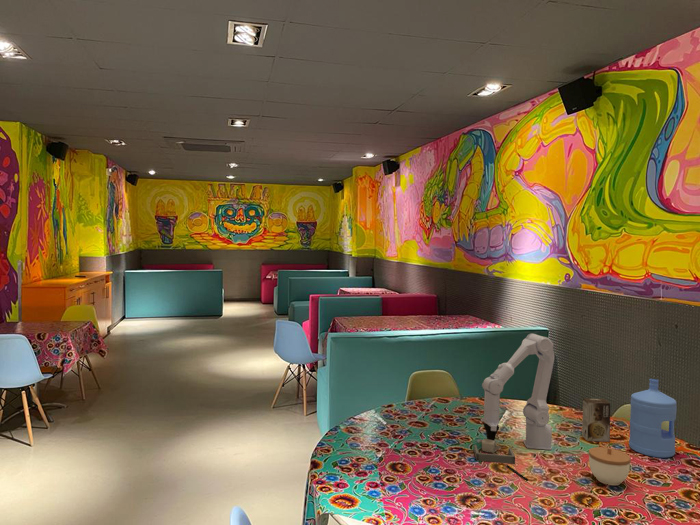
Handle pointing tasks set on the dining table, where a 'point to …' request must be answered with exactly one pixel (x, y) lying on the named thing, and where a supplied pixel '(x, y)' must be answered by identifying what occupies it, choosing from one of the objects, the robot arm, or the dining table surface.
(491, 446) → the usb wall charger
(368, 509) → the dining table surface
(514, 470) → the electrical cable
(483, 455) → the charging bay
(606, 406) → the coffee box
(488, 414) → the robot arm
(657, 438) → the water jug
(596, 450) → the lidded bowl
